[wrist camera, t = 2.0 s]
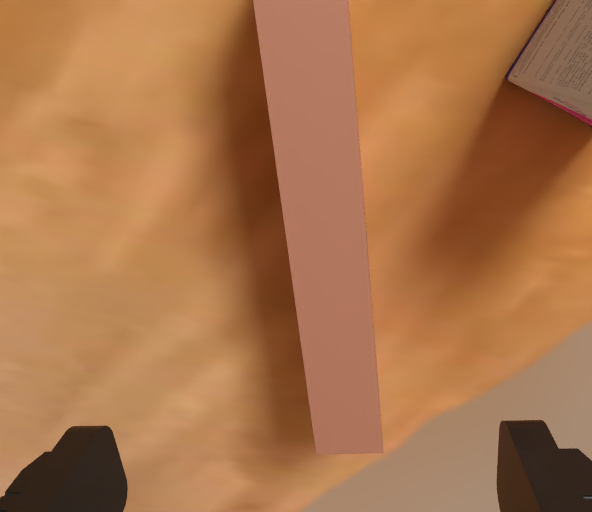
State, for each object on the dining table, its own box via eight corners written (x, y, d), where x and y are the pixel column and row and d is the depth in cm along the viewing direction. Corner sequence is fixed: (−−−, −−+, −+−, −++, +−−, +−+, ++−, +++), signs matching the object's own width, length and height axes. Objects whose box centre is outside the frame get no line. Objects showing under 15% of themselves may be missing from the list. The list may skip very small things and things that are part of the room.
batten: (323, 376, 34) (316, 454, 27) (271, -42, 25) (243, -70, 19) (377, 373, 33) (383, 453, 27) (343, -53, 25) (340, -87, 18)
